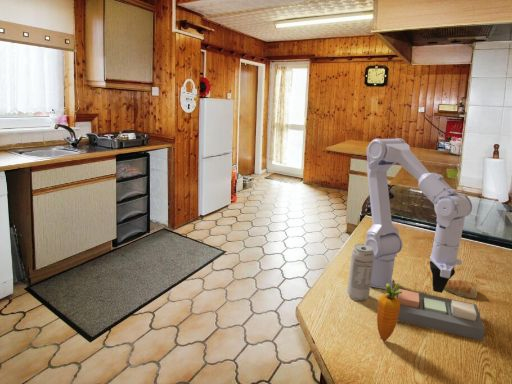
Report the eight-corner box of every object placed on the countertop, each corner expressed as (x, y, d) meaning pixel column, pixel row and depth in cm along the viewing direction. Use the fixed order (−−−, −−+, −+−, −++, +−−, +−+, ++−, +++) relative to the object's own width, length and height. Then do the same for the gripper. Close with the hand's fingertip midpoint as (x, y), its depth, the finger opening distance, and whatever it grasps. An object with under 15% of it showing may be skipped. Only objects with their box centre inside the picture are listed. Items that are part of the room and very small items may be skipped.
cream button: (451, 320, 92) (454, 309, 91) (449, 310, 97) (451, 299, 96) (474, 325, 90) (476, 314, 90) (471, 314, 95) (473, 304, 94)
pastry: (441, 293, 109) (443, 281, 108) (439, 283, 115) (441, 272, 114) (477, 300, 105) (480, 288, 104) (473, 290, 111) (476, 278, 110)
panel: (389, 318, 94) (391, 308, 94) (391, 296, 105) (392, 287, 105) (482, 340, 87) (485, 330, 86) (474, 314, 98) (476, 304, 97)
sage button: (423, 317, 95) (425, 307, 94) (422, 307, 99) (424, 297, 98) (444, 322, 93) (446, 311, 92) (442, 312, 97) (444, 302, 97)
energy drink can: (368, 292, 107) (375, 245, 103) (368, 303, 101) (375, 253, 97) (347, 288, 108) (353, 241, 105) (346, 299, 103) (351, 249, 99)
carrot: (389, 334, 88) (398, 277, 84) (398, 347, 84) (407, 288, 80) (369, 333, 88) (377, 277, 84) (376, 347, 83) (385, 288, 79)
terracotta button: (397, 307, 97) (398, 297, 96) (397, 298, 101) (398, 288, 100) (417, 312, 95) (419, 302, 94) (416, 302, 99) (418, 293, 99)
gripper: (469, 256, 83) (458, 309, 87) (460, 235, 96) (451, 281, 100) (435, 250, 86) (425, 301, 89) (431, 230, 99) (423, 276, 102)
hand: (437, 290), depth 95 cm, fingers closed
